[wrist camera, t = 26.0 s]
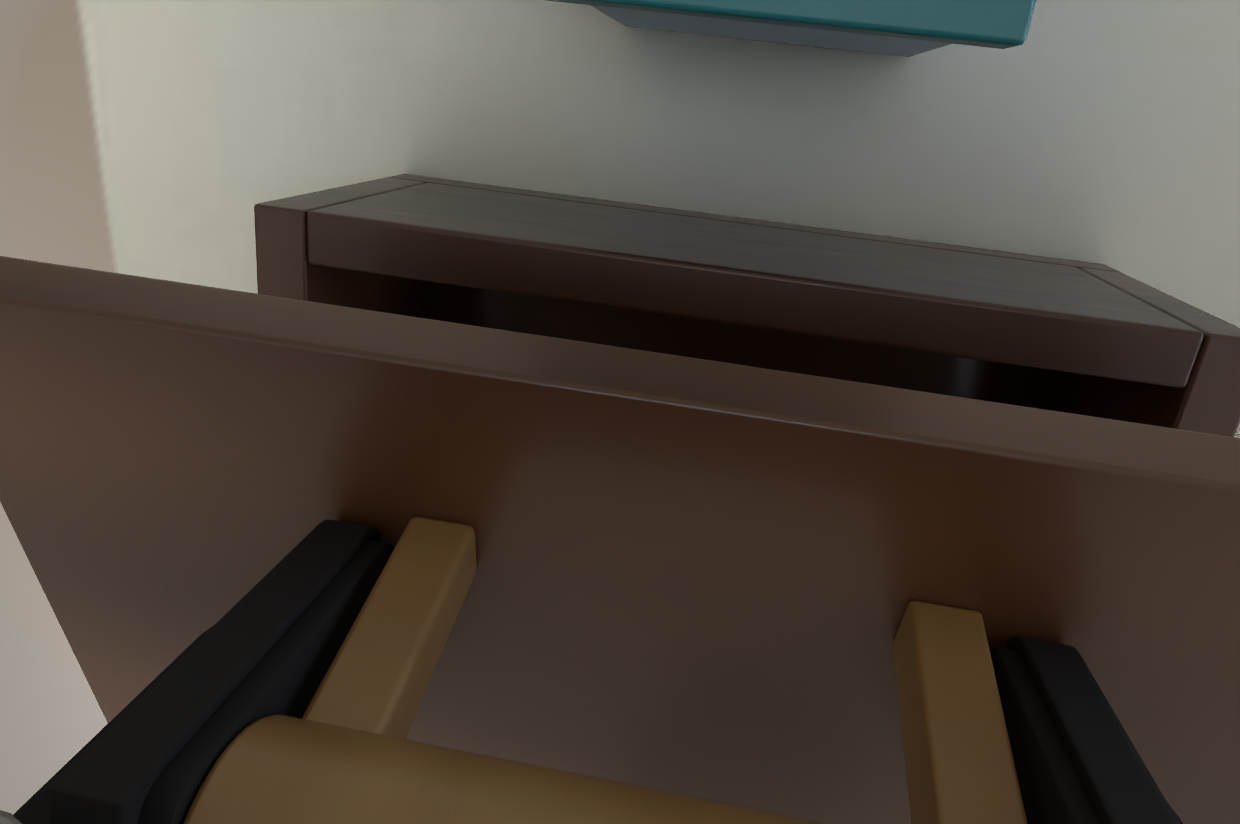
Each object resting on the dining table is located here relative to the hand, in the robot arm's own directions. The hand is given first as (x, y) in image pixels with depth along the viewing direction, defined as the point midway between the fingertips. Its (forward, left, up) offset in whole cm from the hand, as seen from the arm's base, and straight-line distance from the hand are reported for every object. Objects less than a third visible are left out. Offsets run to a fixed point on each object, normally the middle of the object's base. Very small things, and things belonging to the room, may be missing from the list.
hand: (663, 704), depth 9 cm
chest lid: (+5, +4, -3) cm, 7 cm away
